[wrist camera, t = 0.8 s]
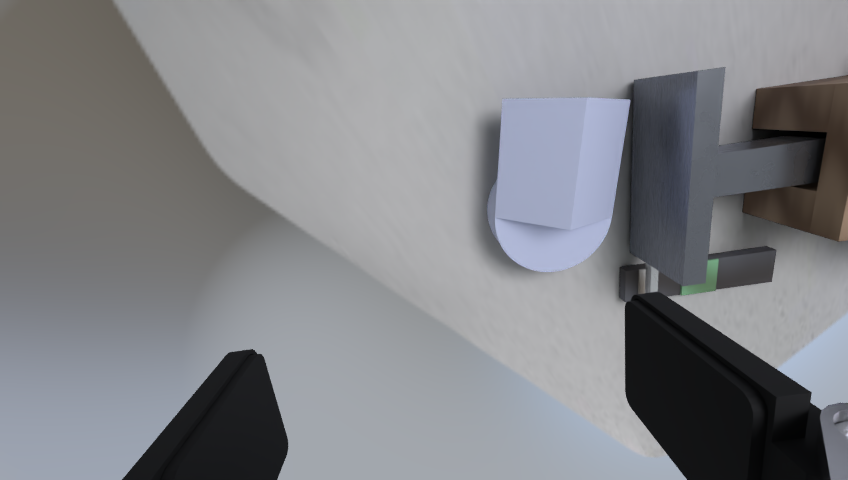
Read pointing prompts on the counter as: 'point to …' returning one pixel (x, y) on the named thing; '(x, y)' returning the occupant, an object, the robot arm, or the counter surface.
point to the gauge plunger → (696, 171)
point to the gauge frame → (792, 206)
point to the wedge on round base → (556, 178)
